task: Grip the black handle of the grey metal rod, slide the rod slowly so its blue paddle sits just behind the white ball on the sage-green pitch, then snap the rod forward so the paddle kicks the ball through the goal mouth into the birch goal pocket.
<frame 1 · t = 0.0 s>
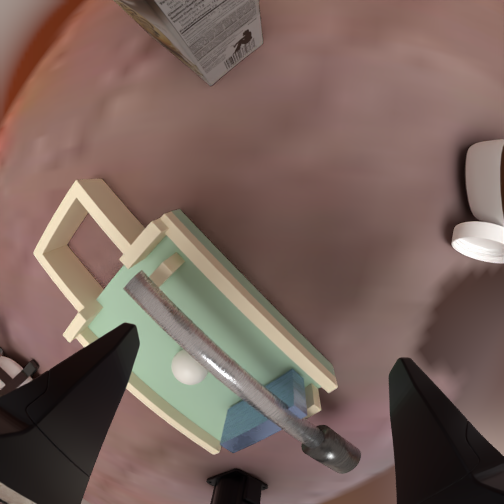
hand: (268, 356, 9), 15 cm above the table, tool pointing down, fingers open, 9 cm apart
coffee press: (24, 374, 32), on the table
coffee box: (204, 37, 20), on the table
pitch: (199, 345, 27), on the table
rod: (236, 398, 22), point 5 cm above the table, slide at 0.0 cm
ball: (194, 356, 25), point 2 cm above the table, touching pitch
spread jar: (483, 199, 21), on the table
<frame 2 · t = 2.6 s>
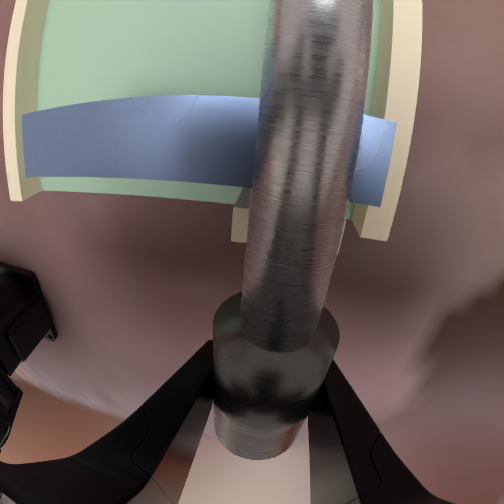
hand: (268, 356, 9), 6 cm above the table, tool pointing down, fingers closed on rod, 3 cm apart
rod: (204, 12, 5), point 5 cm above the table, slide at 0.0 cm, touching gripper
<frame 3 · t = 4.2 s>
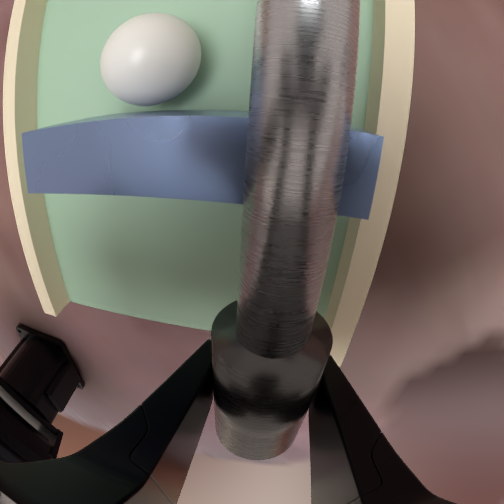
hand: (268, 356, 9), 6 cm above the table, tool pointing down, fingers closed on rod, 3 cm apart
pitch: (184, 109, 11), on the table
rod: (195, 27, 5), point 5 cm above the table, slide at 6.3 cm, touching gripper
ball: (160, 95, 9), point 3 cm above the table, tilted 52°, touching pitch
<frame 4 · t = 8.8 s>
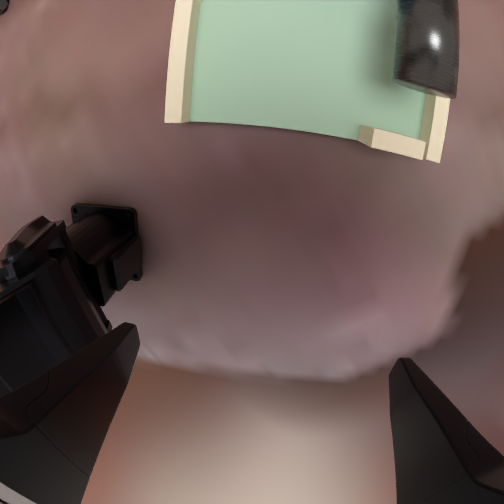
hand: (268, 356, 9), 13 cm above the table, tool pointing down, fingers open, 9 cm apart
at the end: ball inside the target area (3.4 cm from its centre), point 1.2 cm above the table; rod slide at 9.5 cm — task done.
